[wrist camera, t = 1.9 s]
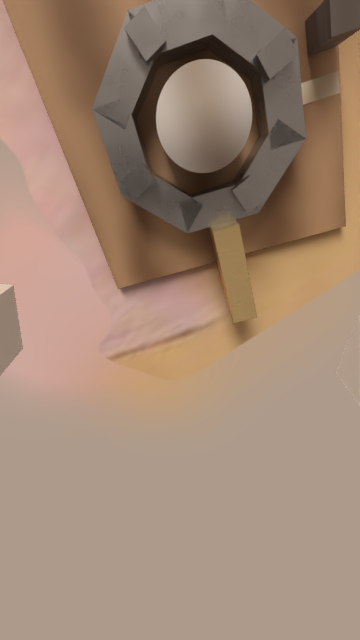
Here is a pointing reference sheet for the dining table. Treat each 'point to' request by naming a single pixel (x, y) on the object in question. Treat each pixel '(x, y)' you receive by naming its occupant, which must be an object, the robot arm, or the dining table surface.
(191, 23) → the ring nut
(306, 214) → the mount plate
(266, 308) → the dining table surface
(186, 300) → the dining table surface
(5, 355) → the robot arm
